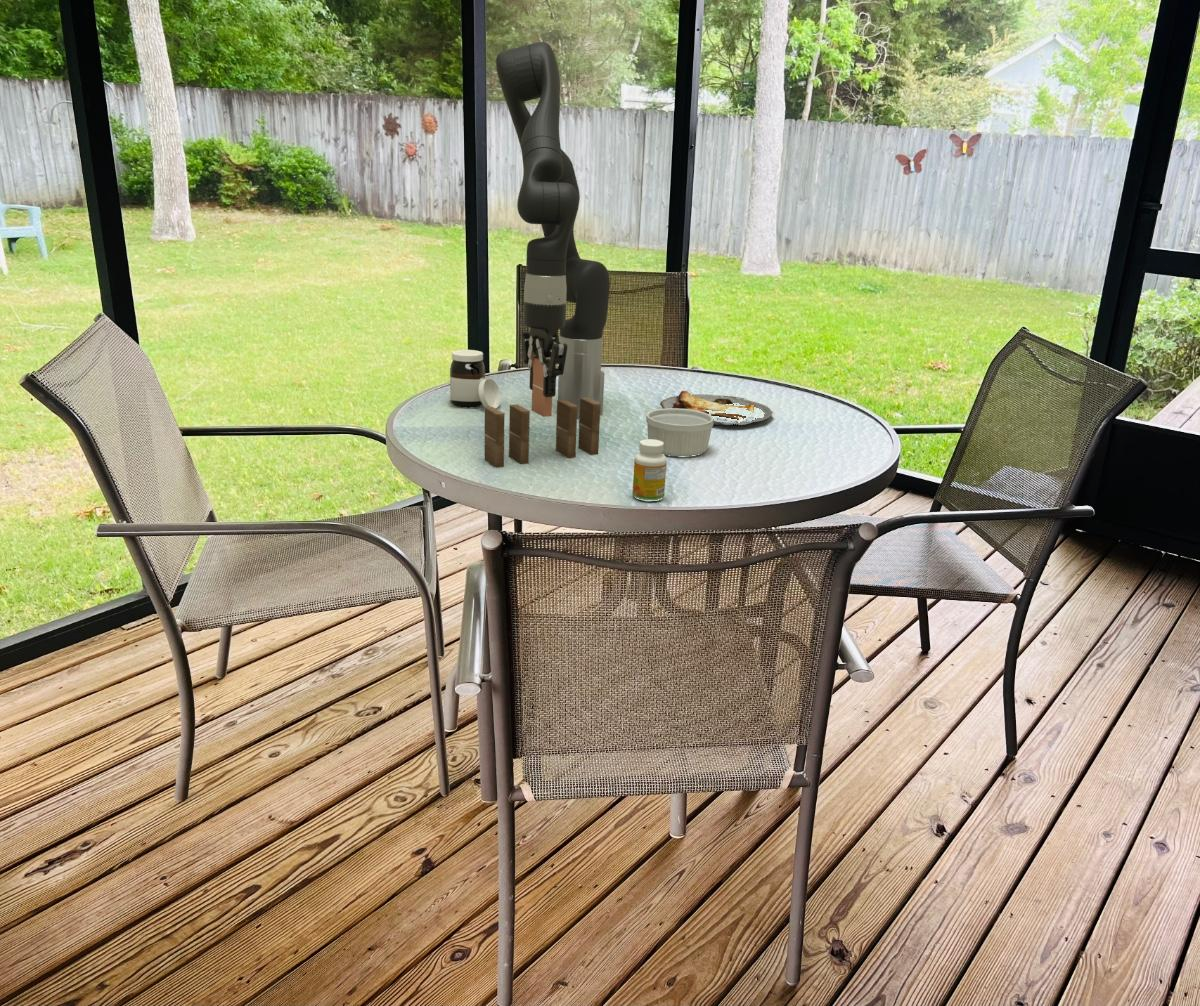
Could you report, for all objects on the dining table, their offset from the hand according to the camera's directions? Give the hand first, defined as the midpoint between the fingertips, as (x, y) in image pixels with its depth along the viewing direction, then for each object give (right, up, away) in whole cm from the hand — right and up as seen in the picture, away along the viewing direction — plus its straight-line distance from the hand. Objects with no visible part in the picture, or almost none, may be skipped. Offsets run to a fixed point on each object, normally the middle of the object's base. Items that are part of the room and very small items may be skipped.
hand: (542, 392), depth 175 cm
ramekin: (+26, -10, +13) cm, 31 cm away
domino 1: (-9, -13, -1) cm, 16 cm away
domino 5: (+8, -10, +9) cm, 16 cm away
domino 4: (+4, -11, +7) cm, 14 cm away
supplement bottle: (+19, -20, -14) cm, 31 cm away
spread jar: (-17, +1, +38) cm, 42 cm away
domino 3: (0, -4, +1) cm, 4 cm away
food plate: (+37, -1, +40) cm, 54 cm away
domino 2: (-4, -12, +2) cm, 13 cm away
